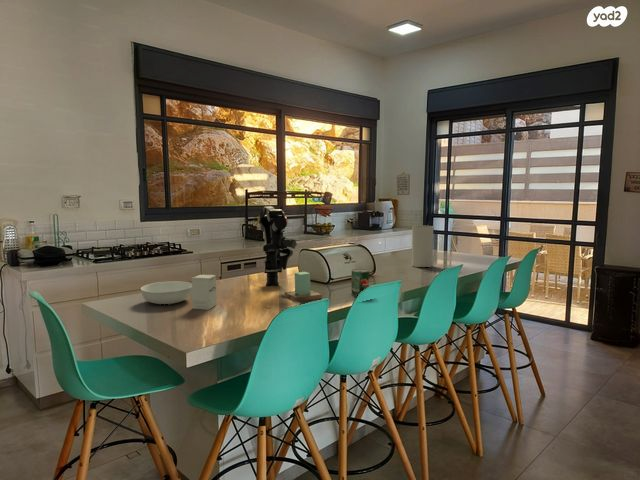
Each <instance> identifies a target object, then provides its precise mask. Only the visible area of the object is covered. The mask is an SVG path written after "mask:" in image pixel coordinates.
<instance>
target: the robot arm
mask: <svg viewBox="0 0 640 480" xmlns="http://www.w3.org/2000/svg"><path fill="white" fill-rule="evenodd" d="M257 219H258V221H257V223H258V224H259V228H260V229H261V231H263V234H264V240H265V244H264V245H263V246H262V252H264V253H265V258H264V261H263V266H262V271H263V273H264V274H266V282H265V286H268V287H269V286H280V282H279V273H282V272H283V271H286V270H287V265H288V261H289V258H290V257H292V256H293V254H294V250H293V249H296V247H297V246H298V244H297V240H296V239H287V237H285V236H284V230H285V229H286V228H287V224H288V222H287V215H286V214H285V212H284V211H283V209H280V208H279V209H276V208H275V207H274V206H263V209H262V211H260V212H259V213H258V218H257Z"/></svg>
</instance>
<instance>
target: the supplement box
mask: <svg viewBox="0 0 640 480" xmlns="http://www.w3.org/2000/svg"><path fill="white" fill-rule="evenodd" d="M191 283H192V293H191V306H192V307H191V308H192V309H193V310H207V311H208V310H210V309H212V308H213V307H215V306H217V275H215V274H199V275H195V276H193V277H191Z"/></svg>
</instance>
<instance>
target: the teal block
mask: <svg viewBox="0 0 640 480" xmlns="http://www.w3.org/2000/svg"><path fill="white" fill-rule="evenodd" d="M310 290H311V273H310V272H307V271H301V272H294V291H295V293H296V294H298V295H306V294H311V291H312V290H311V291H310Z"/></svg>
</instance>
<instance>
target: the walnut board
mask: <svg viewBox="0 0 640 480" xmlns="http://www.w3.org/2000/svg"><path fill="white" fill-rule="evenodd" d="M310 291H311V294H306V295H298V294H296V293H295V290H292V291H285V292H284V297H285V298H286V299H289V300H291V301H294V302H296V303H300V302H301V303H302V302H308V300H309V301H314V300H315V301H316V300H322V299H323V294H322V293H318V292H316V291H313V290H311V289H310Z"/></svg>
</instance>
